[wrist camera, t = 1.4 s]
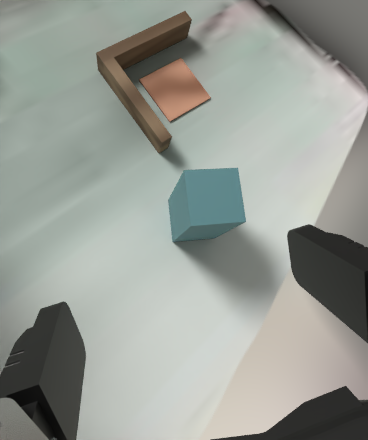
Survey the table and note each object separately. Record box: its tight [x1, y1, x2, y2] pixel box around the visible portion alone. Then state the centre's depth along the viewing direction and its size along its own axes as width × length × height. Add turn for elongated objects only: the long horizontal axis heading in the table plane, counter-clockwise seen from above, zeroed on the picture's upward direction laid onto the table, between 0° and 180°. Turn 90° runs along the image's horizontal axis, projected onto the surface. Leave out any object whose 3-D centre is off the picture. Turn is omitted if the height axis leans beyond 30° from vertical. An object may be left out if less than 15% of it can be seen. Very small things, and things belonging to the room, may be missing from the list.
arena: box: [96, 11, 211, 153], centre depth 39 cm, size 13×13×3 cm
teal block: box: [168, 168, 246, 242], centre depth 32 cm, size 5×5×10 cm
